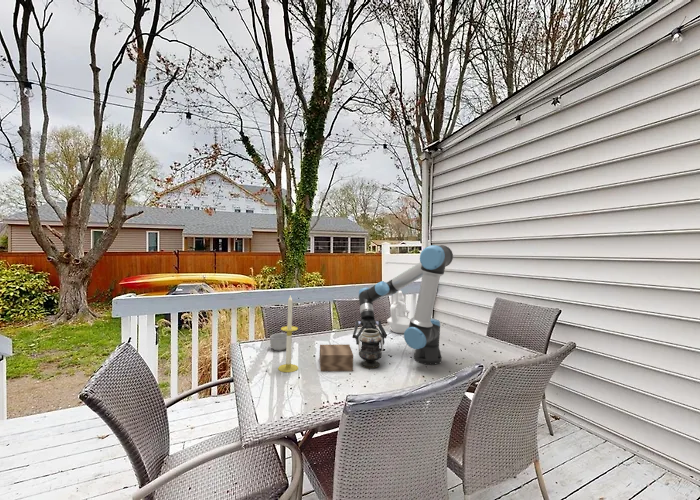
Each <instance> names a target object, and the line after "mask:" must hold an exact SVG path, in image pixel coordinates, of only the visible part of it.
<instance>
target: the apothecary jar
mask: <svg viewBox="0 0 700 500" xmlns="http://www.w3.org/2000/svg"><path fill="white" fill-rule="evenodd" d="M378 330H379V329H378ZM378 330H376V329H364V330H363V332H362V333H361V335H360V336H359V339H360V342H361V351H359V350H358V355H359V358H361V359H362V360H363V361H361V363H360V364H361V366H362V367H363V368H366V369H375V368H377V367H380V365H381V363H380V362H379V361H378V360H380V359H381V358H382V356H383V353H382V352H383V351H381V345H380V342H381V340H382V337H381V335H380V334H379V331H380V330H379V331H378Z"/></svg>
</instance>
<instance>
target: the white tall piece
mask: <svg viewBox="0 0 700 500" xmlns="http://www.w3.org/2000/svg"><path fill="white" fill-rule="evenodd" d="M405 301H406V300H405V296H404V294H403V291H402V290H398V291H397V293H395V294H392V304H391V305H390V307H389V311H390V317H389V318H387V319H386V321H387V323H388V326H389V328H390V329H391V331H392V332H393V333H397V334H404V332H405V330H406V329H407V328H409V324H410V319H411V318H409V314H410V312H411V311H410V310H409V309H407V305H406V302H405ZM405 314H406V315H405Z"/></svg>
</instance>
